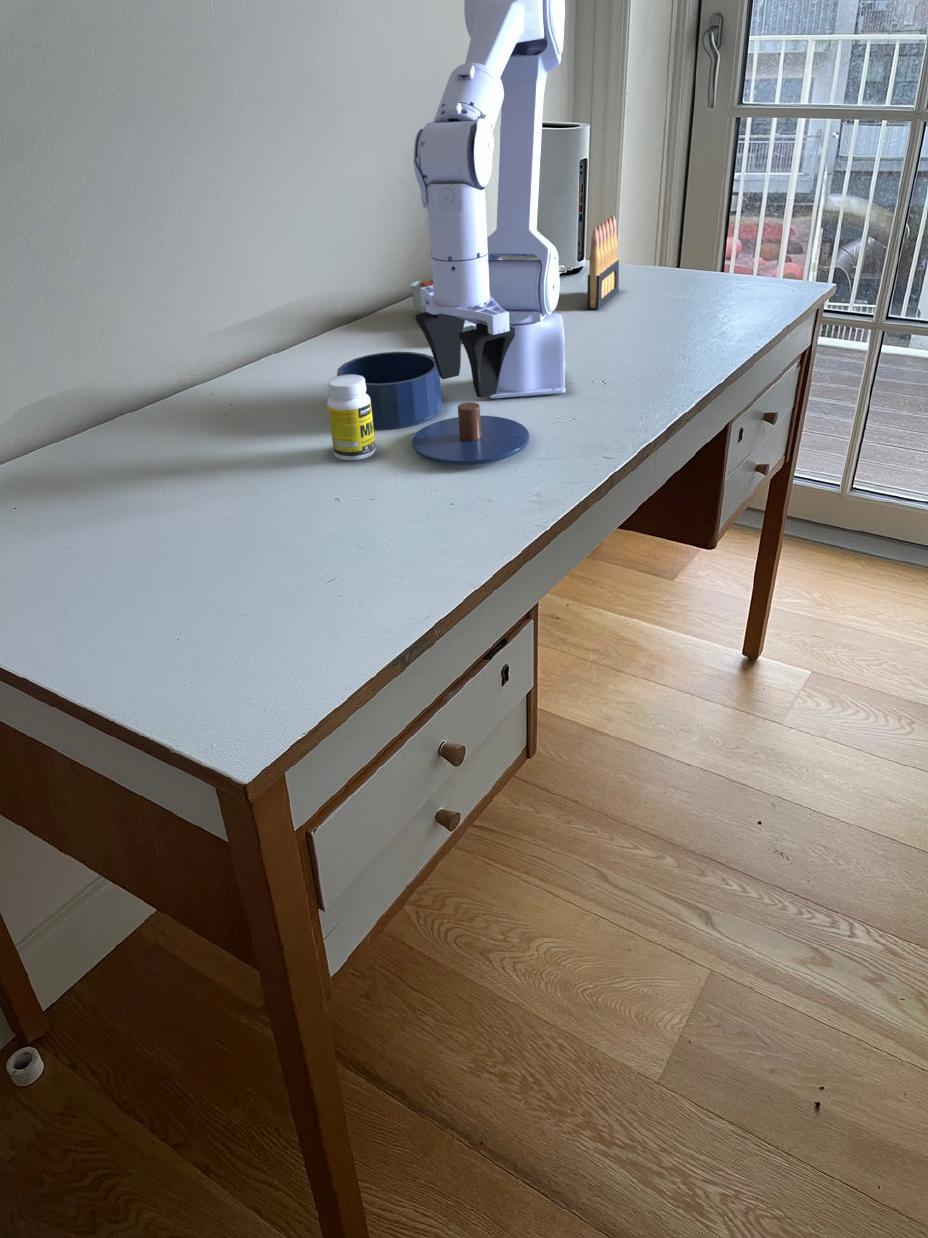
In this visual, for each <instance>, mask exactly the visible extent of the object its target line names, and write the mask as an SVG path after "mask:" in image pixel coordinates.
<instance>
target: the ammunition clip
mask: <svg viewBox="0 0 928 1238" xmlns="http://www.w3.org/2000/svg"><path fill="white" fill-rule="evenodd" d="M617 235H618V234H617V221H616V218H615V215H614V214H612V215H611V216H609V217H608V218H607V219H605V220H604V221H601V223H600V224H599V223H598V224H597V226H594V227H593V229H592V233H591V240H590V253H589V268H588V269H589V274H587V292H586V293H587V294H586V295H587V297H586V298H587V299H586V301H587V303H586V304H587V305H586V309H587V310H593V311H594V310H598V311H600V309H601V308H603V307H604V306H605V305H606V304H607V303H609V302H610V300H612V299H613V298H614V297H615V296H616V295H618V293H619V289H620V288H619V287H620V286H619V284H620V280H619V279H620V260H619V259H618V246H619V245H618V236H617Z"/></svg>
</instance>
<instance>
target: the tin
mask: <svg viewBox="0 0 928 1238" xmlns="http://www.w3.org/2000/svg"><path fill="white" fill-rule="evenodd" d="M341 375H360V376H362V377H364V379H365V385H366V392H365V393H366V394H367V395H368V396H369V397H370V401H371V410H372V419H373V428H374V430H395V429H396V430H397V429H403V428H410V427H412V426H413V427H414V426H418V425H420V424H423V423H426V422H428V421H430V420H432V419H434V418H436V417H437V416H439V415H440V414H441V412H442V410H443V400H442V398H443V397H442V388H441V387H442V386H441V378H440V375H439V373H438V370H437V367H436V363H435V360H434V357H433V355H432V356H431V355H429V354H426V353H421V352H416V351H415V352H414V351H388V352H387V351H386V352H377V353H372V354H366V355H363V356H359V357H356V358H353V359H351V360H349V361H347V362H344V363H343V364H342V365H340V366H339V367H338V368H337V372H336V377H337V376H341Z"/></svg>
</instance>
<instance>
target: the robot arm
mask: <svg viewBox="0 0 928 1238" xmlns="http://www.w3.org/2000/svg"><path fill="white" fill-rule="evenodd" d="M463 5H464V6H463V12H464V22H465V27H466V30H467V35H468V36H469V38H470V40H469V45H468V49H467V54H466V57H465V62H464V63H463V64H460V65H458V66H456V67H455V68H454V69H453V71H451V73H450V75H449V77H448V80H447V83H446V86H445V88H444V91H443V94H442V96H441V99H440V102H439V104H438V106H437V107H438V108H437V110H436V112H435V116H434V118H433V121H432V122H428V123H426V124H425V125H424V127H423V128H420V129H419V130H417V133H416V135H415V139H414V146H413V169H414V173H415V178H416V180H417V183H418V185H419V191H420V199H421V204H422V207H423V208H424V209H427V221H428V232H429V234H428V235H429V244H430V245H429V246H430V248H429V249H430V258H431V272H432V273H431V274H432V280H433V285H432V286H427V287H423V288H420V294H421V305H422V306H423V307H425V309H426V312H424V313H422V312H421V313H417V314H415V315H414V318H415V322H416V323H417V325H418V326H419V328H420V329H421V331H422V333H423V335H424V336H425V339H426V341H427V343H428V345H429V348H430V351H431V354H432V357H434V360H435V363H436V367H437V370H438V373H439V375H440V380H447V379H451V378H455V377H459V376H460V372H461V364H462V363H461V362H462V345H463V347H464V350H465V352H466V355H467V358H468V361H469V366H470V370H471V377H472V384H473V389H474V393H475V395H476V397H477V398H478V399H484V398H487V397H488V398H489V399H503V398H515V397H518V398H519V397H529V396H542V395H554V394H555V395H556V394H564V393H566V387H565V385H566V382H565V379H566V377H565V374H566V360H565V330H564V321H563V316H562V314H561V313H553V311H554V310H555V309H556V308H557V306H558V302H559V297H560V287H561V286H560V285H561V283H560V281H561V280H560V279H561V278H560V269H559V253H558V250H557V248H556V246H555V245H554V244H553V242H551V241H550V240H549V239H547V238H546V237H545V236H544V235H542V233H541V232H540V231H538V229H537V228H538V227H537V226H538V210H539V209H538V207H539V189H540V172H541V171H540V170H541V169H540V168H541V153H542V150H541V149H542V134H543V133H542V132H543V131H542V130H543V111H544V97H545V88H546V84H547V83H546V82H547V77H548V73H549V72H551V71H552V70H553V69H555V68H556V67H558V66H559V65H560V64H561V63H562V62H561V60H562V53H563V51H564V36H565V35H564V34H565V17H566V16H565V15H566V3H565V0H464V3H463ZM500 112H501V113H500ZM499 114H500V132H499V133H500V135H499V157H498V158H499V160H498V181H497V182H498V184H497V205H496V206H497V207H496V227H495V228H496V229H495V230H494V231H493V232H492V233H491V234H490V235H488V229H487V207H486V206H487V205H486V186H487V185H488V183H489V181H490V179H491V175H492V171H493V170H492V169H493V154H494V149H495V139H494V134H493V132H494V130H495V126H496V124H497V120H498V117H499ZM504 257H510V258H518V257H519V258H538V259H500V258H504ZM465 320H466V321H469V322H471V323H473V324H476V329H473V330H469V331H465V332H463V327H464V323H465ZM461 341H462V343H461Z"/></svg>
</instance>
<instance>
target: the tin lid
mask: <svg viewBox="0 0 928 1238" xmlns="http://www.w3.org/2000/svg"><path fill="white" fill-rule="evenodd" d="M480 407H481V405H480V404H479V403H477V402H474V401H472V402H471V401H468V402H467V401H466V402H463V403H460V404H458V405H457V416H455V417H449V418H445V419H442V420H438V421H435V422H433V423H432V422H431V423H430V424H427V425H426V426H424V427H422V428H420V430H418V431H417V432H416V433H414V436H413V438H412V441H411V443H412V444H411V445H412V448H413V451H414V452H415V453H416V454H417V455H418V456H419V457H421V458H422V459H425V460H427V461H431V462H434V463H438V464H443V465H451V466H452V465H453V466H472V465H482V464H483V465H484V464H489V463H494V462H498V461H502V460H505V459H508V458H510V457H513V456H515V455H517V454H518V453H521V452H522V451H523V450H524V449H525V448H526V447H527V446H528V444H529V442H530V432H529V430H528V428H527V427H526V426H525V425H523V424H522V423H520V422H518V421H515V420H513V419H510V418H507V417H500V416H495V415H494V416H493V415H481V408H480Z"/></svg>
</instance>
